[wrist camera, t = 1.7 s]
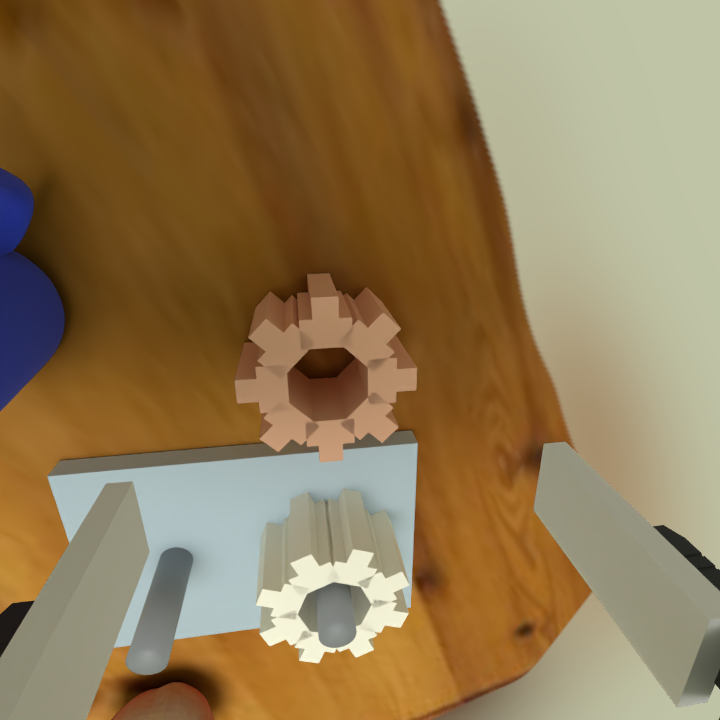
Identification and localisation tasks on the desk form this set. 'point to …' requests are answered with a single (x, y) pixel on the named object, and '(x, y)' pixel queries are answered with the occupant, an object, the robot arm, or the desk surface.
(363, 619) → the gear
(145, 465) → the gear board
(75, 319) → the desk surface
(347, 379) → the loose gear
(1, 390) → the mug
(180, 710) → the fruit
